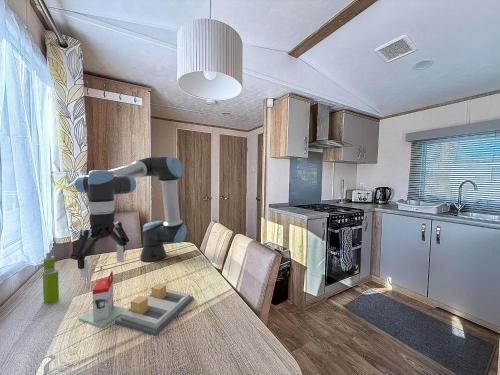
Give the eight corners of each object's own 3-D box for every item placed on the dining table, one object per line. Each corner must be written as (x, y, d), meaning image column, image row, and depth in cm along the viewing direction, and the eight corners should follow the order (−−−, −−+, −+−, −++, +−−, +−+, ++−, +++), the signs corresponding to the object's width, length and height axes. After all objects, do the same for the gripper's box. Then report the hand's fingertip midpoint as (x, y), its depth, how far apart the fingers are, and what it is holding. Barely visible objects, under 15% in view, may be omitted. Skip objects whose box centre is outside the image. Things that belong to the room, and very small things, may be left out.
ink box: (99, 308, 81) (98, 271, 81) (113, 305, 83) (113, 269, 83) (92, 322, 74) (91, 281, 73) (109, 318, 76) (108, 279, 75)
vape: (53, 296, 90) (52, 251, 89) (60, 300, 87) (58, 253, 86) (42, 301, 87) (40, 253, 86) (48, 305, 84) (46, 256, 83)
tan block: (158, 294, 90) (158, 283, 90) (166, 296, 89) (166, 284, 89) (151, 299, 86) (151, 287, 86) (159, 301, 85) (159, 289, 85)
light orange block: (139, 308, 81) (139, 295, 80) (147, 310, 79) (147, 297, 79) (130, 314, 77) (130, 301, 77) (139, 316, 76) (139, 303, 75)
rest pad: (105, 304, 85) (105, 302, 85) (127, 310, 81) (127, 308, 81) (78, 319, 76) (78, 318, 76) (102, 327, 72) (102, 326, 72)
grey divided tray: (159, 291, 95) (159, 284, 95) (193, 299, 89) (193, 292, 89) (114, 323, 74) (114, 314, 74) (155, 336, 68) (155, 326, 68)
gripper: (124, 207, 90) (125, 255, 91) (54, 218, 66) (57, 283, 67) (138, 208, 87) (139, 257, 89) (70, 220, 64) (73, 287, 65)
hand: (103, 268), depth 78 cm, fingers open, 13 cm apart
